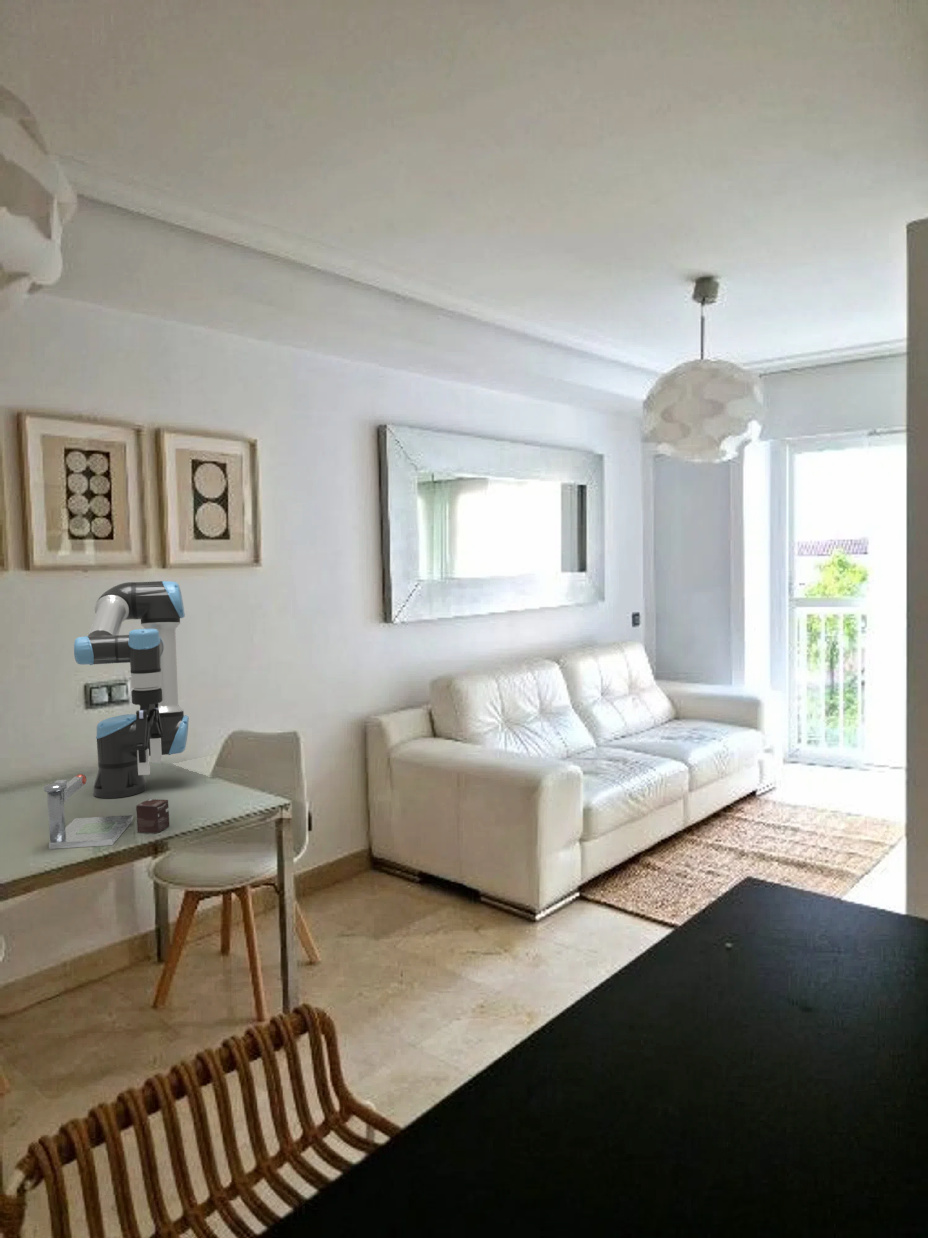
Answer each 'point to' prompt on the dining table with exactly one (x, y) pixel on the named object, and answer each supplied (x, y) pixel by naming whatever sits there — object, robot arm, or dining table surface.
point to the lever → (66, 786)
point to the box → (152, 816)
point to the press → (82, 827)
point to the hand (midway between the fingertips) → (150, 768)
